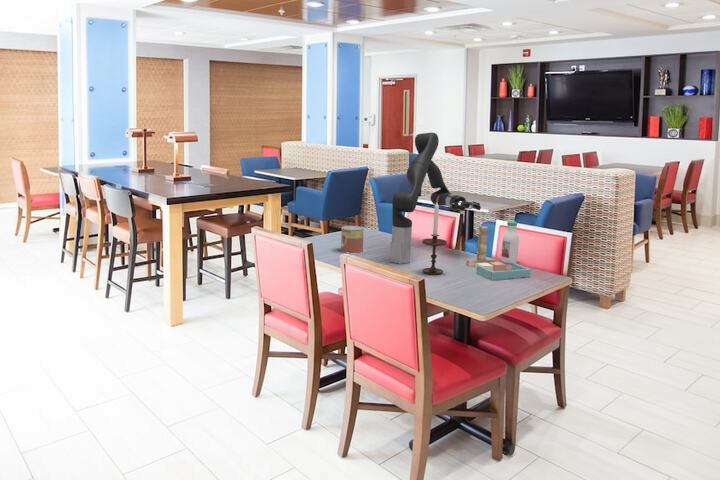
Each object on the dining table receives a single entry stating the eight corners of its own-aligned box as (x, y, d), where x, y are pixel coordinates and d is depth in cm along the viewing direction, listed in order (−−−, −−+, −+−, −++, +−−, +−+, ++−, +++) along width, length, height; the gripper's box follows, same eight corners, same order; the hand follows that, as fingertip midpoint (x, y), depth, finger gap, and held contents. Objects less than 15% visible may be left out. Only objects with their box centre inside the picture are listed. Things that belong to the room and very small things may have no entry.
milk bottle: (514, 260, 316) (518, 220, 312) (518, 264, 309) (522, 223, 305) (499, 259, 316) (502, 220, 312) (503, 263, 309) (506, 222, 304)
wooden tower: (466, 265, 303) (468, 226, 300) (491, 263, 308) (494, 225, 305) (469, 266, 301) (472, 228, 297) (494, 265, 306) (498, 227, 302)
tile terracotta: (488, 268, 300) (489, 262, 299) (499, 267, 301) (499, 261, 301) (495, 271, 295) (495, 265, 294) (505, 270, 296) (506, 264, 296)
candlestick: (441, 269, 294) (445, 193, 287) (447, 275, 284) (452, 197, 277) (418, 269, 293) (422, 193, 285) (424, 275, 282) (428, 196, 275)
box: (476, 272, 290) (477, 265, 289) (513, 270, 297) (514, 262, 296) (491, 280, 278) (492, 272, 278) (530, 277, 286) (530, 269, 285)
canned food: (337, 249, 327) (338, 226, 324) (357, 247, 332) (358, 225, 329) (346, 254, 317) (346, 230, 314) (366, 252, 322) (367, 229, 319)
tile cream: (476, 269, 297) (476, 263, 296) (486, 268, 299) (486, 262, 298) (482, 272, 292) (482, 266, 291) (492, 271, 294) (493, 265, 293)
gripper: (443, 195, 320) (459, 201, 306) (468, 194, 325) (485, 200, 311) (442, 210, 322) (458, 216, 308) (467, 208, 327) (484, 215, 313)
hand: (472, 208), depth 309 cm, fingers open, 8 cm apart
